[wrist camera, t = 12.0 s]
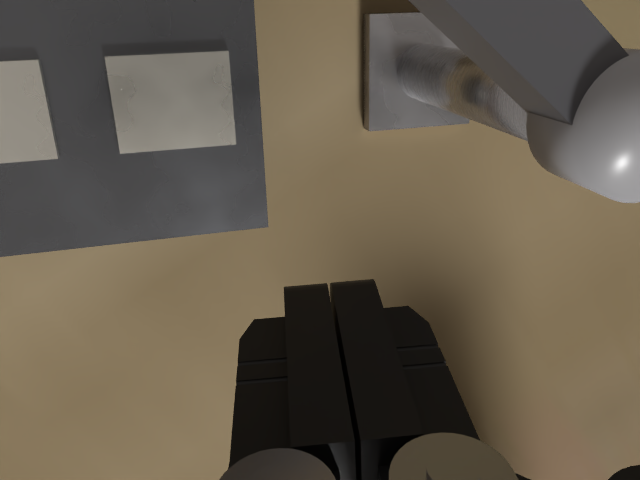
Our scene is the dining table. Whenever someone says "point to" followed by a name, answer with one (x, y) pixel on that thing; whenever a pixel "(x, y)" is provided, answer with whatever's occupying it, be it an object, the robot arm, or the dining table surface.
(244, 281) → the dining table surface
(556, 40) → the bar
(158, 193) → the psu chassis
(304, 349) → the robot arm
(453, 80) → the hinge post
